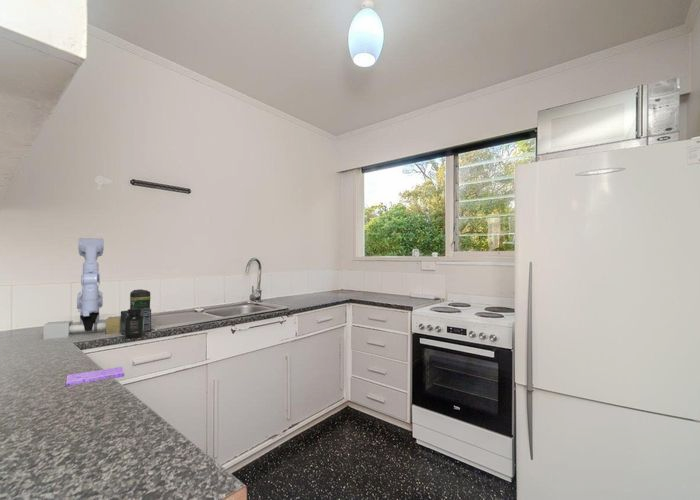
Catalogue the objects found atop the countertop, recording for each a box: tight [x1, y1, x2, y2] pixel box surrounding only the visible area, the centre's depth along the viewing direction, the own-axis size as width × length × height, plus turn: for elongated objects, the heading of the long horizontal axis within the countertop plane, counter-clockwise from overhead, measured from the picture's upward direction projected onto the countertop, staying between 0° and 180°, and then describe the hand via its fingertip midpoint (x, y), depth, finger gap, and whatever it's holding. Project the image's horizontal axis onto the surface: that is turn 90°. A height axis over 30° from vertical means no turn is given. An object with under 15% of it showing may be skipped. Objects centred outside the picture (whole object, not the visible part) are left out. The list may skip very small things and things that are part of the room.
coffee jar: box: [129, 289, 151, 309], centre depth 159 cm, size 10×8×19 cm
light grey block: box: [42, 320, 74, 341], centre depth 138 cm, size 8×6×6 cm
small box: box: [120, 308, 152, 336], centre depth 146 cm, size 11×6×10 cm, turn 144°
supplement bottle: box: [124, 308, 145, 339], centre depth 138 cm, size 7×7×12 cm
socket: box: [105, 315, 121, 335], centre depth 148 cm, size 5×7×6 cm
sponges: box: [65, 366, 125, 386], centre depth 90 cm, size 7×13×2 cm, turn 128°
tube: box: [69, 322, 106, 334], centre depth 142 cm, size 18×4×4 cm, turn 119°
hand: (89, 330), depth 143 cm, fingers closed on tube, 3 cm apart
